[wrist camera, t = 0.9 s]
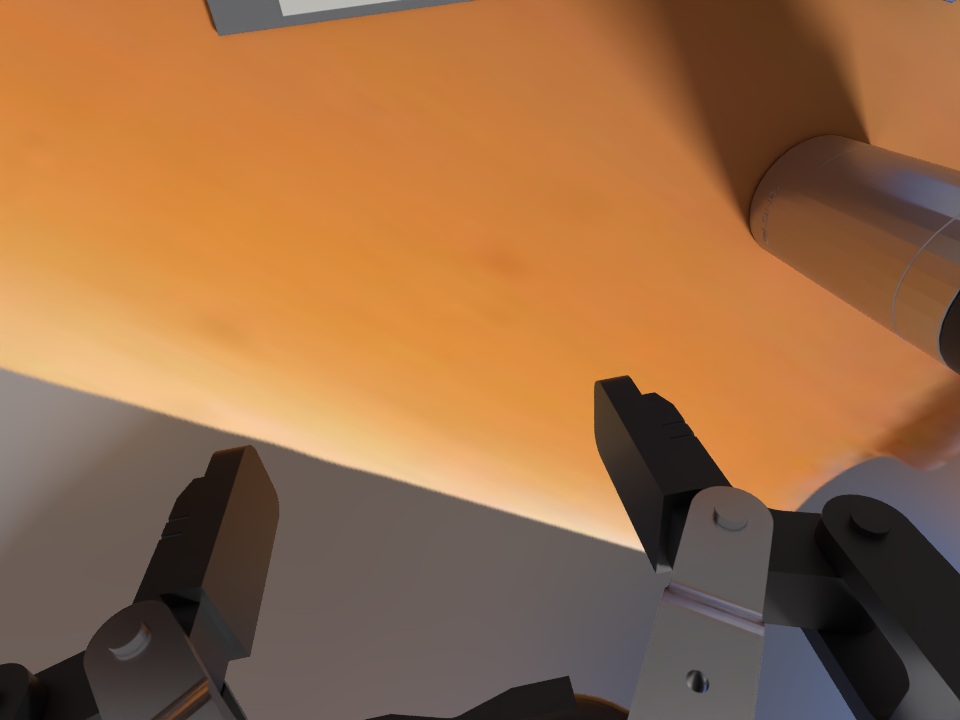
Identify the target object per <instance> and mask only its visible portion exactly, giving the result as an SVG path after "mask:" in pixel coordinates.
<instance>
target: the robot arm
mask: <svg viewBox="0 0 960 720" xmlns="http://www.w3.org/2000/svg"><path fill="white" fill-rule="evenodd" d="M749 221H750V227H751V232H752V234H753V236H754V239H755V241H756V242H757V243H758V244H759V245H760V246H761V248H763V249H765V250H766V251H768V252H769V253H771V254H772V255H774V256H775V257H777V258H778V259H780V260H782V261H783V262H785V263H786V264H788V265H789V266H791V267H792V268H794V269H795V270H796V271H798V272H800V273H801V274H803V275H804V276H806V277H807V278H809V279H811V280H812V281H814V282H815V283H817V284H818V285H820V286H821V287H823V288H825V289H826V290H828V291H829V292H831V293H832V294H834V295H835V296H837V297H839V298H840V299H842V300H843V301H845V302H846V303H848V304H850V305H851V306H853V307H854V308H856V309H857V310H859V311H860V312H862V313H864V314H865V315H867V316H868V317H870V318H871V319H873V320H874V321H876V322H878V323H879V324H881V325H882V326H884V327H885V328H887V329H889V330H890V331H892V332H893V333H895V334H896V335H898V336H899V337H901V338H903V339H904V340H906V341H908V342H909V343H911V344H912V345H914V346H915V347H917V348H919V349H920V350H922V351H923V352H925V353H926V354H928V355H930V356H931V357H933V358H934V359H936V360H937V361H939V362H940V363H942V364H944V365H945V366H947V367H948V368H950V369H952V370H953V371H955V372H956V373H958V374H959V375H960V171H958V170H955V169H951V168H948V167H944V166H941V165H937V164H934V163H930V162H927V161H924V160H920V159H917V158H913V157H910V156H906V155H903V154H900V153H896V152H893V151H889V150H887V149H883V148H880V147H877V146H873V145H870V144H866V143H863V142H859V141H856V140H853V139H849V138H846V137H842V136H836V135H824V136H818V137H814V138H811V139H809V140H806V141H803V142H801V143H800V144H798V145H796V146H795V147H793V148H791V149H790V150H788V151H787V152H786V153H785V154H784V155H782V156H781V157H780V158H779V159H778V160H777V161H776V162H775V163H774V164H773V165H772V166H771V168H770V169H769V170H768V171H767V173H766V174H765V176H764V177H763V179H762V180H761V182H760V183H759V185H758V188H757V190H756V192H755V194H754V197H753V200H752V204H751V208H750V220H749ZM594 431H595V439H596V444H597V448H598V451H599V454H600V457H601V459H602V461H603V463H604V465H605V467H606V469H607V471H608V474H609V476H610V478H611V480H612V482H613V484H614V486H615V488H616V491H617V493H618V495H619V497H620V499H621V501H622V503H623V505H624V507H625V510H626V512H627V514H628V516H629V518H630V520H631V522H632V524H633V526H634V529H635V531H636V533H637V535H638V537H639V539H640V541H641V543H642V545H643V548H644V550H645V552H646V554H647V556H648V558H649V560H650V562H651V564H652V566H653V569H654V571H655V573H656V574H658V573H663V572H667V571H672V574H671V578H670V581H669V585H668V587H666V588H665V590H664V592H663V595H662V598H661V602H660V605H659V609H658V612H657V616H656V619H655V623H654V627H653V630H652V634H651V637H650V641H649V644H648V648H647V652H646V655H645V659H644V662H643V666H642V669H641V673H640V677H639V680H638V684H637V687H636V691H635V695H634V698H633V702H632V705H631V709H630V711H629V710H628V709H626V708H624V707H622V706H620V705H618V704H616V703H614V702H611V701H608V700H605V699H602V698H599V697H595V696H591V695H586V694H575V693H573V689H572V685H571V682H570V678H569V676H565V677H561V678H556V679H552V680H547V681H542V682H537V683H533V684H528V685H523V686H519V687H515V688H511V689H509V690H507V691H505V692H503V693H501V694H499V695H498V696H496V697H494V698H492V699H490V700H488V701H487V702H484V703H482V704H481V705H479V706H477V707H475V708H473V709H471V710H469V711H467V712H465V713H464V714H462V715H460V716H458V717H455V718H435V717H421V716H408V715H395V714H389V715H385V716H380V717H376V718H371V719H366V720H754V715H755V708H756V699H757V691H758V682H759V674H760V666H761V656H762V648H763V639H764V623H767V624H776V625H785V626H792V627H800V628H801V629H802V631H803V632H804V634H805V636H806V637H807V639H808V641H809V642H810V644H811V646H812V647H813V649H814V651H815V652H816V654H817V655H818V657H819V659H820V660H821V662H822V663H823V665H824V667H825V669H826V670H827V672H828V674H829V675H830V677H831V678H832V680H833V682H834V683H835V685H836V687H837V688H838V690H839V691H840V693H841V695H842V697H843V698H844V700H845V701H846V703H847V705H848V706H849V708H850V709H851V711H852V713H853V714H854V716H855V718H856V719H857V720H960V574H959V573H958V572H957V571H956V570H955V569H954V568H953V567H952V566H951V564H950V563H949V562H948V561H947V560H946V559H945V558H944V557H943V556H942V555H941V554H940V553H939V552H938V551H937V550H936V549H935V548H934V547H933V545H932V544H931V543H930V542H929V541H928V540H927V539H926V538H925V537H924V536H923V535H922V534H921V533H920V532H919V531H918V529H917V528H916V527H915V526H914V525H913V524H912V523H911V522H910V521H909V520H908V519H907V518H906V517H905V516H904V515H903V514H901V513H900V512H899V511H898V510H896V509H895V508H893V507H891V506H890V505H888V504H886V503H884V502H882V501H879V500H876V499H874V498H870V497H866V496H861V495H841V496H837V497H835V498H832V499H831V500H829V501H828V502H827V503H826V504H825V506H824V508H823V510H822V513H821V514H818V513H805V512H792V511H781V510H774V509H770V508H767V507H766V506H765V505H764V504H763V503H762V501H760V500H759V499H758V498H757V497H755V496H753V495H752V494H750V493H748V492H746V491H744V490H741V489H738V488H734V487H732V485H731V484H730V483H729V482H728V480H727V479H726V477H725V476H724V475H723V473H722V472H721V470H720V469H719V468H718V466H717V465H716V463H715V462H714V461H713V459H712V458H711V456H710V455H709V454H708V452H707V451H706V449H705V448H704V447H703V445H702V444H701V442H700V441H699V440H698V438H697V437H695V436H694V433H693V431H692V430H691V428H690V427H689V426H688V424H685V420H684V419H683V417H682V416H681V414H680V413H679V412H678V410H677V409H676V408H675V406H674V405H673V404H672V403H670V402H669V401H667V400H666V399H664V398H663V397H661V396H660V395H658V394H656V393H655V392H654V393H649V394H644V395H642V394H641V393H640V391H639V390H638V388H637V387H636V385H635V384H634V382H633V381H632V379H631V378H630V377H629V376H628V375H626V376H620V377H615V378H610V379H604V380H599V381H596V382H595V386H594ZM278 519H279V502H278V497H277V493H276V491H275V489H274V486H273V484H272V482H271V480H270V478H269V476H268V474H267V472H266V470H265V468H264V466H263V464H262V462H261V459H260V457H259V455H258V453H257V451H256V450H255V448H254V447H253V446H251V445H247V446H242V447H237V448H232V449H226V450H221V451H216V452H215V453H214V454H213V455H212V458H211V460H210V463H209V465H208V468H207V471H206V473H205V476H204V477H201V478H195V479H193V480H192V482H191V483H190V484H189V485H188V486H187V487H186V489H185V490H184V491H183V492H182V493H181V494H180V496H179V497H178V498H177V499H176V502H175V504H174V507H173V509H172V512H171V514H170V516H169V523H166V526H165V528H164V530H163V533H162V535H161V536H162V539H161V540H159V542H158V544H157V547H156V549H155V552H154V554H153V556H152V559H151V561H150V563H149V566H148V568H147V570H146V573H145V575H144V578H143V580H142V583H141V585H140V587H139V589H138V592H137V594H136V597H135V599H134V601H133V603H132V605H130V606H128V607H126V608H124V609H122V610H120V611H119V612H117V613H116V614H114V615H113V616H112V617H110V618H109V619H108V620H107V621H106V622H105V623H104V624H103V625H102V626H101V627H100V628H99V629H98V630H97V632H96V633H95V634H94V636H93V637H92V639H91V640H90V642H89V644H88V646H87V648H86V650H85V651H83V652H81V653H79V654H77V655H75V656H72V657H70V658H68V659H66V660H64V661H62V662H60V663H58V664H56V665H54V666H51V667H49V668H47V669H45V670H43V671H41V672H39V673H37V674H35V675H33V674H32V673H31V672H30V671H28V670H27V669H26V668H25V667H24V666H22V665H20V664H16V663H7V664H2V665H0V720H248V718H247V716H246V714H245V713H244V711H243V709H242V708H241V706H240V704H239V702H238V700H237V699H236V697H235V695H234V693H233V692H232V690H231V688H230V686H229V685H228V683H227V682H226V681H225V674H226V670H227V666H228V662H229V661H230V660H235V659H240V658H245V657H249V656H250V654H251V649H252V644H253V640H254V635H255V630H256V625H257V621H258V615H259V611H260V606H261V601H262V596H263V592H264V587H265V582H266V577H267V573H268V567H269V563H270V558H271V552H272V548H273V543H274V539H275V534H276V529H277V524H278Z"/></svg>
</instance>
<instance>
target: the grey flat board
mask: <svg viewBox="0 0 960 720" xmlns="http://www.w3.org/2000/svg"><path fill="white" fill-rule="evenodd" d="M467 1H474V0H207V2H208V5H209V8H210V11H211V14H212V17H213V20H214V23H215V26H216V29H217V32H218V35H219V36H223V35H230V34H237V33H244V32H251V31H258V30H266V29H273V28H280V27H287V26H294V25H301V24H309V23H316V22H323V21H330V20H337V19H345V18H352V17H359V16H366V15H373V14H380V13H388V12H395V11H402V10H409V9H416V8H423V7H431V6H438V5H445V4H452V3H459V2H467Z"/></svg>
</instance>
